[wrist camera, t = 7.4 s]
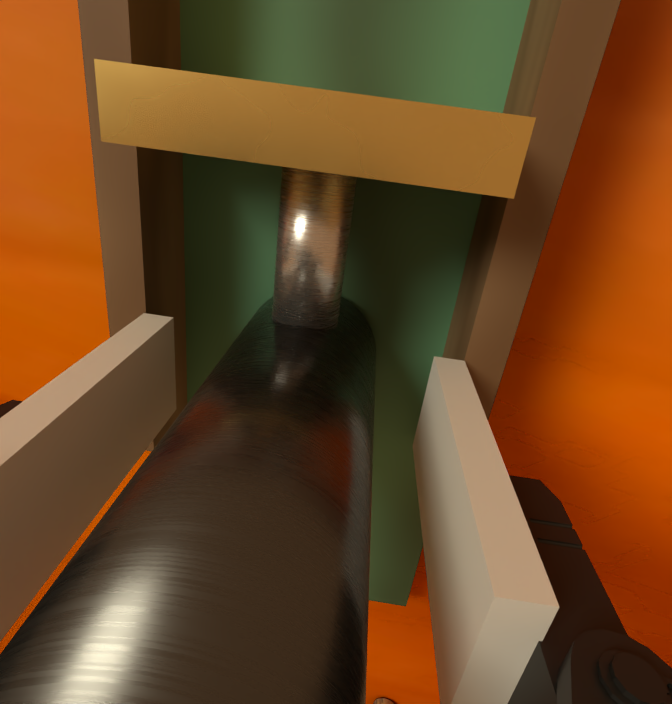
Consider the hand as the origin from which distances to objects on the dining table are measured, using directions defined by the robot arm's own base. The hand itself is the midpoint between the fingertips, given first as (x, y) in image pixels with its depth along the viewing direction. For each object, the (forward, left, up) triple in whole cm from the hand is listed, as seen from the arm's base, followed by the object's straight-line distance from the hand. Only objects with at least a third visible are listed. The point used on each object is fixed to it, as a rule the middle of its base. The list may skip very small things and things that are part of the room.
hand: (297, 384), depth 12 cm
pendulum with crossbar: (0, +2, -2) cm, 3 cm away
